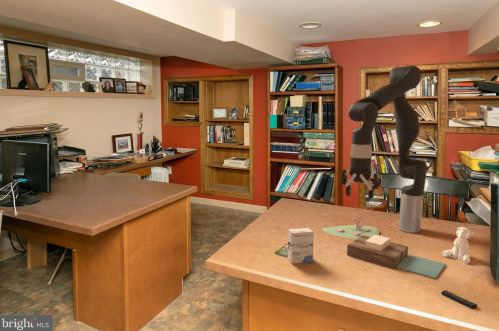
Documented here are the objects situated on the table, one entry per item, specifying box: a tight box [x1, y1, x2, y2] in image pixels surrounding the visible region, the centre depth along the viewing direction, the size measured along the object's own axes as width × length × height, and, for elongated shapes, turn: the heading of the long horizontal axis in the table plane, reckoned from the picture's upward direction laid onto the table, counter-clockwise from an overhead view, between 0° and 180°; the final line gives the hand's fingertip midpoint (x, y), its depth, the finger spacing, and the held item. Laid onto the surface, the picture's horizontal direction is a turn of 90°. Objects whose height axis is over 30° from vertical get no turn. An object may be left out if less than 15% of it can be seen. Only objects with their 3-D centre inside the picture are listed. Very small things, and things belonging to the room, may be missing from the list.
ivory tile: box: [365, 234, 391, 251], centre depth 131 cm, size 9×6×2 cm, turn 138°
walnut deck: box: [346, 235, 409, 269], centre depth 132 cm, size 14×18×4 cm
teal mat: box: [395, 254, 446, 280], centre depth 123 cm, size 14×13×1 cm
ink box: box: [287, 227, 315, 265], centre depth 128 cm, size 8×5×12 cm, turn 100°
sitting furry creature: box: [441, 226, 475, 265], centre depth 130 cm, size 10×9×12 cm
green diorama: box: [321, 213, 380, 240], centre depth 158 cm, size 25×21×9 cm
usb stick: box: [441, 289, 478, 310], centre depth 101 cm, size 10×3×2 cm, turn 28°
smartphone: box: [274, 243, 288, 259], centre depth 138 cm, size 7×1×15 cm
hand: (359, 197), depth 133 cm, fingers open, 8 cm apart
